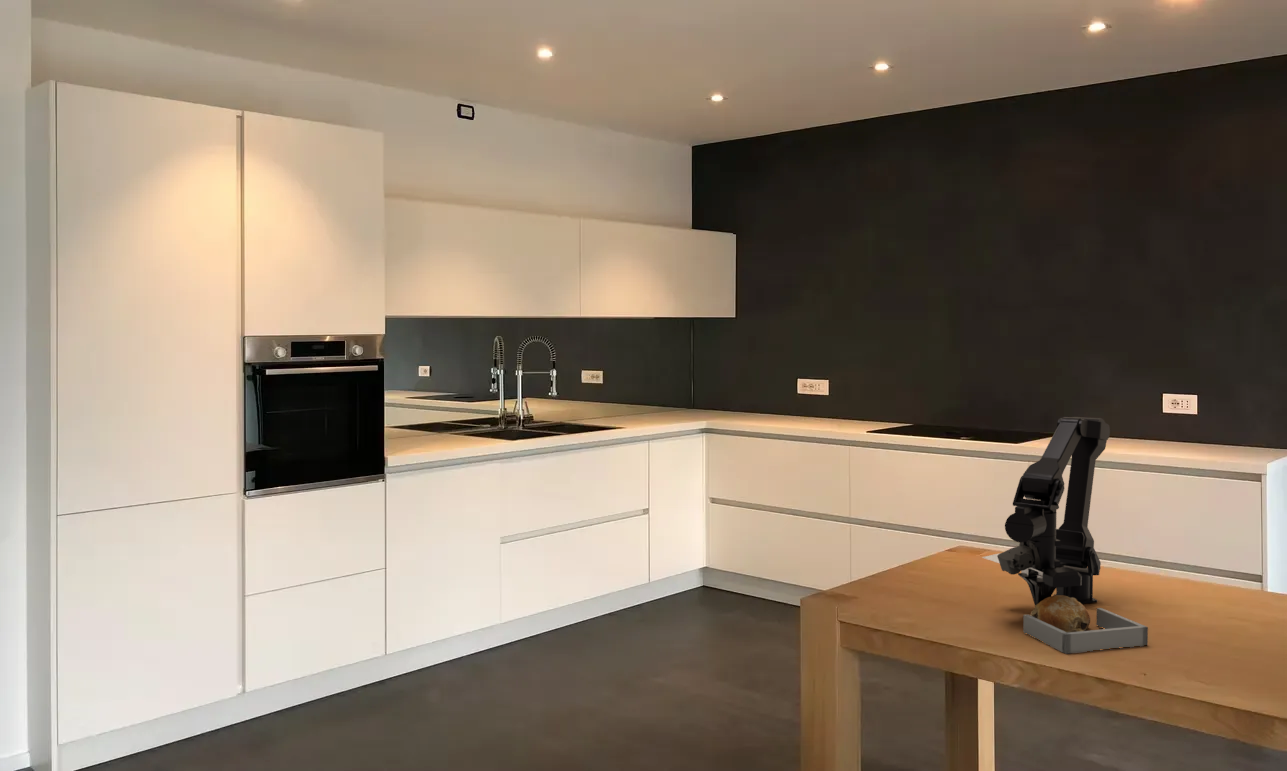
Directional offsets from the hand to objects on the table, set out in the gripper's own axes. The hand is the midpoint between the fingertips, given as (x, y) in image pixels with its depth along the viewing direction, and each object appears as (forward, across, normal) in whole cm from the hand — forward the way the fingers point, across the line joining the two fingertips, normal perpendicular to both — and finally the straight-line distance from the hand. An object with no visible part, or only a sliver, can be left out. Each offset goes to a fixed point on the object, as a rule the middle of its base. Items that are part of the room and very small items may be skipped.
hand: (1039, 610), depth 205 cm
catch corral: (+2, +14, 0) cm, 14 cm away
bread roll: (+2, +6, 0) cm, 6 cm away
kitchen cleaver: (+2, -35, +21) cm, 41 cm away
